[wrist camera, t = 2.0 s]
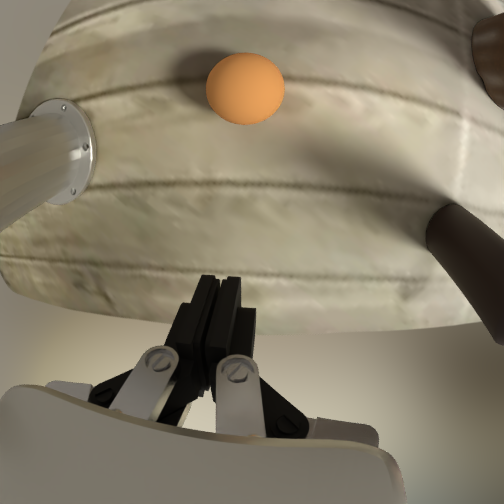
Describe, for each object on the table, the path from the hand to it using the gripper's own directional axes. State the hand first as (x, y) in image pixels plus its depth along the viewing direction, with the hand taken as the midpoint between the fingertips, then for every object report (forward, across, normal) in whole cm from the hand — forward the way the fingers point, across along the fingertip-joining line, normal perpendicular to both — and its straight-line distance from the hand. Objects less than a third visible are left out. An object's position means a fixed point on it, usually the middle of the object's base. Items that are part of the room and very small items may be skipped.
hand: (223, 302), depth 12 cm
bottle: (+16, -22, +2) cm, 28 cm away
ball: (+13, 0, -10) cm, 16 cm away
